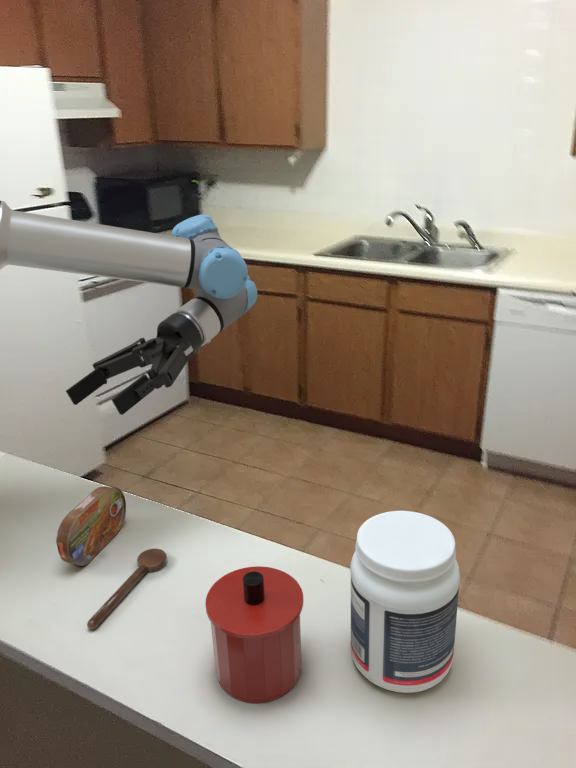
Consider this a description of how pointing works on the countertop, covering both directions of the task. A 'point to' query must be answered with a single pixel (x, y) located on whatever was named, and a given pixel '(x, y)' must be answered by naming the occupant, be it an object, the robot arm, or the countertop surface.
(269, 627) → the pot lid
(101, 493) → the tin
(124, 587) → the spoon
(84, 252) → the robot arm
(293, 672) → the pot
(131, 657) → the countertop surface
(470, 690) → the countertop surface
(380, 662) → the supplement tub
